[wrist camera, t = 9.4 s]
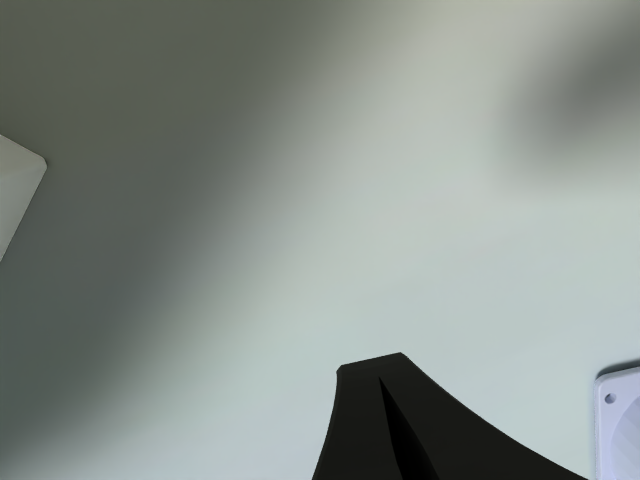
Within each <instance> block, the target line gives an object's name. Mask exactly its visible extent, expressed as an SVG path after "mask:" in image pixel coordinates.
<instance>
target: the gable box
mask: <svg viewBox="0 0 640 480" xmlns="http://www.w3.org/2000/svg"><path fill="white" fill-rule="evenodd" d="M46 169H47V165H46V162H45V160H44V158H43V157H41V156H39V155H37V154H35V153H33V152H32V151H30V150H28V149H26V148H24V147H23V146H21V145H19V144H17V143H15V142H13V141H12V140H10V139H8V138H6V137H4V136H2V135H1V134H0V262H1V260H2V258H3V256H4V254H5V252H6V250H7V248H8V246H9V243H10V241H11V239H12V237H13V235H14V233H15V231H16V229H17V227H18V225H19V223H20V221H21V219H22V217H23V215H24V213H25V211H26V209H27V207H28V205H29V203H30V201H31V199H32V197H33V195H34V193H35V191H36V189H37V187H38V185H39V183H40V181H41V179H42V177H43V175H44V173H45V171H46Z"/></svg>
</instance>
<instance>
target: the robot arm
mask: <svg viewBox="0 0 640 480" xmlns="http://www.w3.org/2000/svg"><path fill="white" fill-rule="evenodd" d="M336 373H337V386H336V394H335V400H334V406H333V411H332V415H331V419H330V423H329V427H328V431H327V435H326V438H325V442H324V445H323V448H322V451H321V454H320V457H319V460H318V463H317V466H316V469H315V472H314V475H313V477H312V480H588V479H586V478H584V477H582V476H579V475H577V474H575V473H573V472H571V471H569V470H568V469H566V468H564V467H562V466H560V465H558V464H556V463H554V462H552V461H550V460H549V459H547V458H545V457H543V456H541V455H540V454H538V453H536V452H534V451H532V450H531V449H529V448H527V447H525V446H524V445H522V444H520V443H519V442H517V441H516V440H514V439H512V438H511V437H509V436H508V435H506V434H504V433H503V432H502V431H500V430H499V429H497V428H496V427H494V426H493V425H491V424H490V423H488V422H487V421H485V420H484V419H482V418H481V417H480V416H478V415H477V414H475V413H474V412H473V411H471V410H470V409H469V408H467V407H466V406H465V405H463V404H462V403H461V402H459V401H458V400H457V399H456V398H454V397H453V396H452V395H450V394H449V393H448V392H447V391H445V390H444V389H443V388H442V387H440V386H439V385H438V384H437V383H436V382H435V381H433V380H432V379H431V378H430V377H429V376H427V375H426V374H425V373H424V372H423V371H422V370H421V369H420V368H419V367H417V366H416V365H415V364H414V363H413V362H412V361H411V360H410V359H409V358H408V357H407V356H405V355H404V354H402V353H401V352H399V353H395V354H390V355H385V356H381V357H376V358H372V359H367V360H363V361H358V362H354V363H349V364H345V365H341V366H340V367H339V369H338V370H337V371H336ZM608 394H610V395H609V396H608V397H606V396H607V395H608ZM605 397H606V398H605ZM594 402H595V439H596V475H597V480H640V367H635V368H631V369H626V370H622V371H617V372H613V373H608V374H604V375H602V376H600V377H599V378H598V379H597V380H596V382H595V384H594Z"/></svg>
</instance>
